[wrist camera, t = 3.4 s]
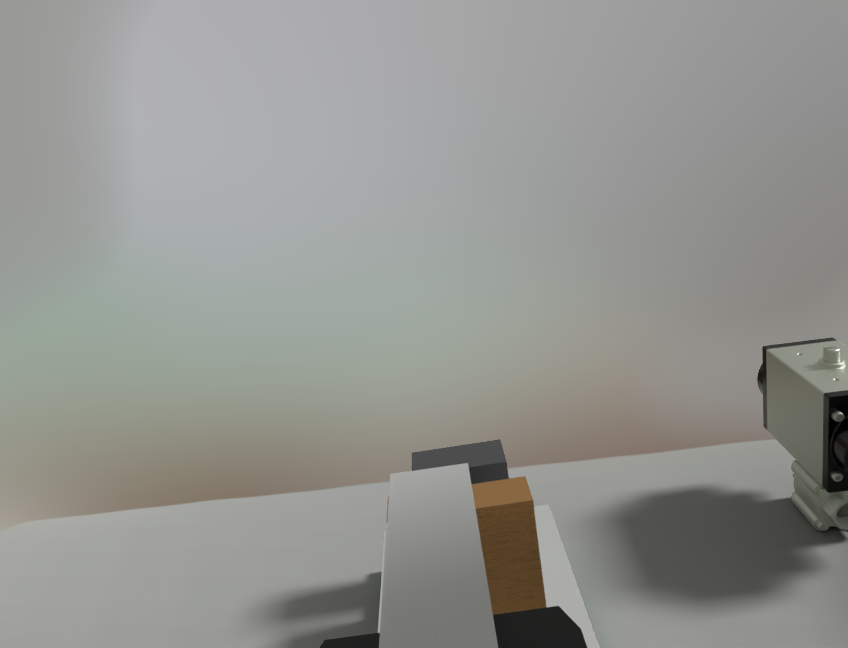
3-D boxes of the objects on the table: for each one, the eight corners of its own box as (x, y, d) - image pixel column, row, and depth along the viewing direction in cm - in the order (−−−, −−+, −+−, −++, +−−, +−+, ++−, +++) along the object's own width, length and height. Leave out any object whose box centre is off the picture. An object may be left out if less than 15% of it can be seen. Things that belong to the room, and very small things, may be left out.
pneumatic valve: (839, 575, 40) (843, 389, 36) (756, 474, 51) (753, 324, 47) (938, 566, 39) (952, 376, 36) (832, 466, 50) (835, 314, 47)
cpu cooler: (703, 957, 23) (692, 763, 21) (365, 1000, 24) (314, 814, 21) (559, 544, 46) (545, 428, 44) (388, 569, 47) (365, 456, 44)
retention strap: (562, 730, 25) (532, 500, 23) (431, 748, 26) (386, 521, 23) (510, 520, 39) (488, 360, 36) (425, 532, 39) (396, 374, 36)
